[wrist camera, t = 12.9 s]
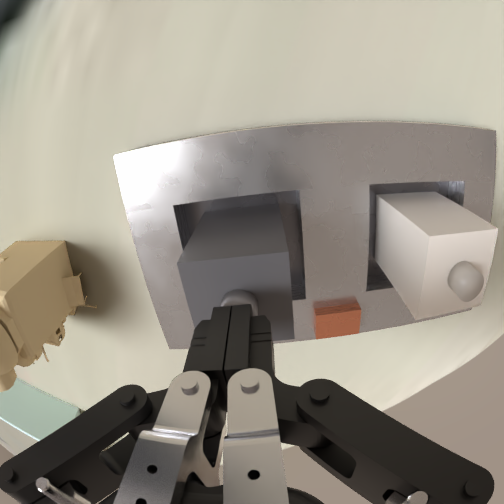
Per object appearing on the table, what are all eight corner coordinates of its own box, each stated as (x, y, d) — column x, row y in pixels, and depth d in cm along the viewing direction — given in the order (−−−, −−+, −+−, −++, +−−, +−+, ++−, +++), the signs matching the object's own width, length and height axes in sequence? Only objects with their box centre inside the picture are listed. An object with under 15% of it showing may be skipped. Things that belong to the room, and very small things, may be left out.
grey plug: (204, 211, 19) (169, 277, 11) (278, 203, 18) (291, 265, 11) (217, 276, 21) (196, 363, 13) (284, 269, 20) (297, 356, 13)
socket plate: (130, 150, 18) (107, 157, 15) (474, 126, 16) (503, 132, 13) (176, 328, 23) (167, 356, 20) (457, 293, 22) (475, 315, 19)
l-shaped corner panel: (11, 372, 30) (-12, 408, 23) (79, 406, 31) (59, 449, 24) (31, 415, 34) (14, 447, 28) (91, 443, 36) (78, 479, 29)
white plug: (376, 194, 18) (442, 247, 10) (434, 191, 18) (512, 237, 10) (374, 259, 20) (424, 335, 12) (429, 252, 19) (491, 317, 12)
